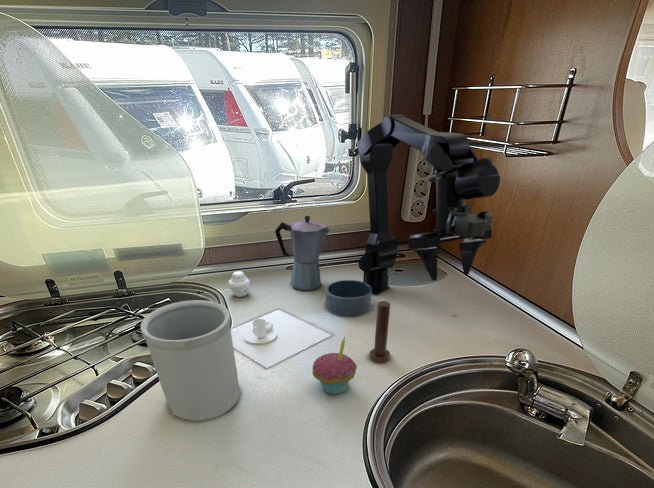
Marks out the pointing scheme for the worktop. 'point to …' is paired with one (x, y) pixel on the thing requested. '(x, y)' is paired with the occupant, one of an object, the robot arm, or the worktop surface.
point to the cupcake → (334, 370)
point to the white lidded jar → (239, 284)
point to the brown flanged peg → (381, 334)
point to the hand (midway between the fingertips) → (450, 277)
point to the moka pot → (304, 251)
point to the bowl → (348, 298)
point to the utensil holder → (193, 357)
